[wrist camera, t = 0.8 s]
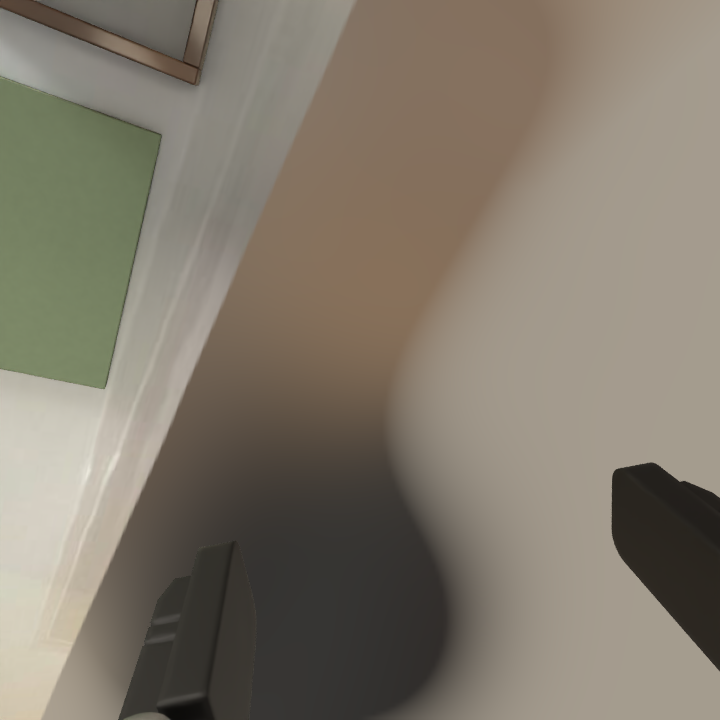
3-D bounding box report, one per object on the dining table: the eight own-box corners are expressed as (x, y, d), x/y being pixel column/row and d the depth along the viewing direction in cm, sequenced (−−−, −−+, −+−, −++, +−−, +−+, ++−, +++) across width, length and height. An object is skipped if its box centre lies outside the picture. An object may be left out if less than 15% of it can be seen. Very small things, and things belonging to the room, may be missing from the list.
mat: (-105, 343, 33) (-111, 347, 32) (-86, 45, 27) (-92, 44, 27) (106, 385, 37) (104, 389, 37) (162, 134, 31) (160, 135, 31)
